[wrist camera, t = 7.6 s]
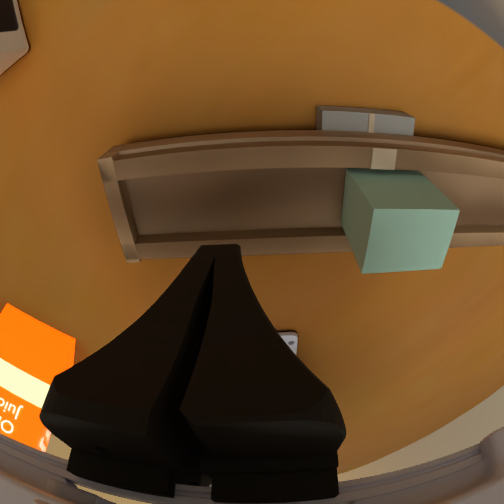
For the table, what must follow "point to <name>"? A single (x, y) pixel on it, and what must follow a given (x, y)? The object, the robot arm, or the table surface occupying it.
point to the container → (11, 34)
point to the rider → (396, 220)
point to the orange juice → (28, 373)
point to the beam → (287, 185)
